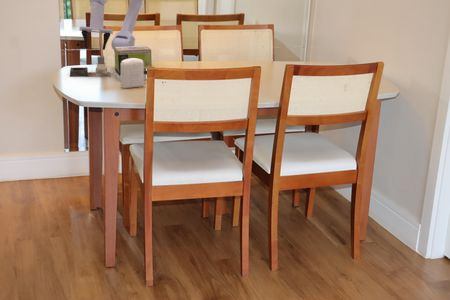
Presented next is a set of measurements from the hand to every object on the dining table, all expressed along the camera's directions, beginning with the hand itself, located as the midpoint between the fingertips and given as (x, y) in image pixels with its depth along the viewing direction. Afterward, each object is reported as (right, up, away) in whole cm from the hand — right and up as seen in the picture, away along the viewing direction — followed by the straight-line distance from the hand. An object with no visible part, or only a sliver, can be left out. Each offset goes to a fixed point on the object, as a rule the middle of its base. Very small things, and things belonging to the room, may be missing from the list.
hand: (95, 48), depth 281 cm
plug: (+2, -11, +6) cm, 12 cm away
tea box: (+17, -14, +2) cm, 22 cm away
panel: (-3, -12, +6) cm, 13 cm away
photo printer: (+18, -18, -10) cm, 28 cm away
